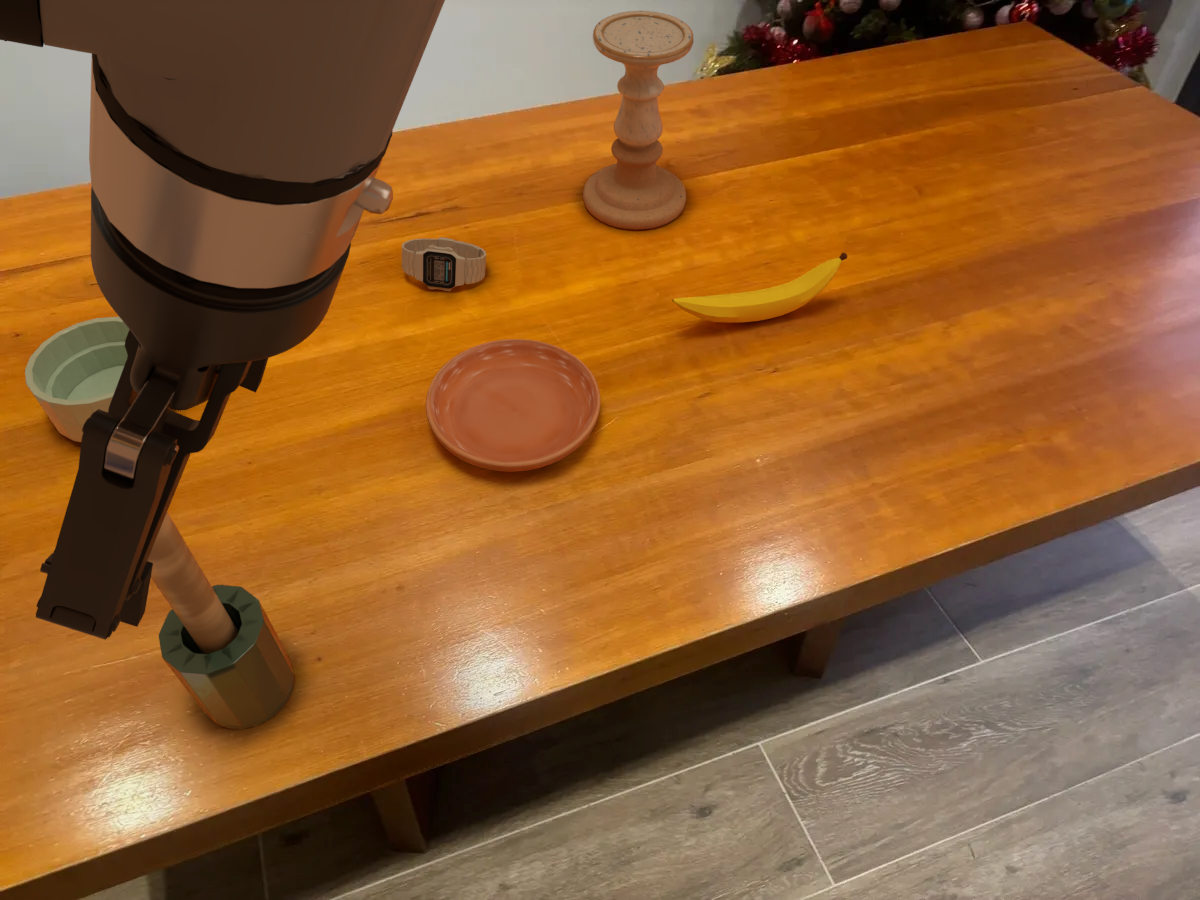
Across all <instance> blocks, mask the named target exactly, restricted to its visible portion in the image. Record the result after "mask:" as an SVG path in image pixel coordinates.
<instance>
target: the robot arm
mask: <svg viewBox="0 0 1200 900" xmlns="http://www.w3.org/2000/svg"><path fill="white" fill-rule="evenodd" d="M445 1H446V0H0V41H4V42H11V43H17V44H21V45H27V46H32V47H37V48H44V46H48V47H54V48H60V49H64V50H70V51H75V52H81V53H86V54H91V66H90V67H91V68H90V103H89V104H90V107H89V109H90V110H89V144H88V145H89V147H88V148H89V149H88V154H89V155H88V161H89V162H88V163H89V172H90V184H91V185H90V262H91V268H92V272H93V275H94V277H95V281H96V284H97V285H98V289H99V290H100V292H101V294H102V295H103V297H104V298H105V300H106V301H107V303H108V304H109V307H111V308H112V310H113V311H114V312H115V313H116V315H117V317H120V318H121V319H122V321H123V322H124V323H125V324H126V326H127V327H128V328H129V332H128V335H127V337H126V340H125V348H126V352H127V355H128V356H127V360H126V363H125V365H124V368H123V371H122V373H121V376H120V379H119V381H118V384H117V387H116V389H115V392H114V395H113V397H112V400H111V403H110V405H109V409H108V412H105V411H103V410H100V409H98V410H96V411H95V412H94V413H92V415H91V416H90V417H89V418H88V419H87V420H86V422H85V424H84V426H83V428H82V432H83V435H82V439H81V442H80V447H79V448H80V449H79V460H78V468H77V472H76V475H75V479H74V483H73V485H72V486H73V487H72V489H71V493H70V495H69V500H68V503H67V506H66V510H65V514H64V516H63V521H62V523H61V528H60V531H59V534H58V537H57V541H56V543H55V548H54V550H53V552H51V553H50V555H49V556H48V557H47V558H46V559H45V560H44V562H42V563H41V565H40V569H39V571H40V572H41V573H44V574H46V578H45V582H44V585H43V588H42V593H41V594H40V595H41V596H40V597H39V599H38V601H37V603H36V608H37V609H36V612H35V619H38V620H42V621H45V622H48V623H52V624H54V625H57V626H60V627H63V628H67V629H70V630H74V631H76V632H80V633H83V634H86V635H89V636H92V637H96V638H98V639H102V640H108V638H111V636H112V635H113V632H116V630H117V629H118V626H119V625H120V623H125V624H127V625H130V626H132V627H136V628H138V626H139V624H140V622H141V621H142V618H143V617H144V615H145V612H146V609H147V601H148V596H149V590H150V584H151V580H152V578H151V573H152V567H153V563H151V562H148V561H147V560H148V557H149V555H150V553H151V550H152V548H153V545H154V543H155V540H156V538H157V535H158V533H159V530H160V528H161V525H162V523H163V521H164V518H165V516H166V513H167V512H168V510H169V508H170V506H171V503H172V501H173V499H174V496H175V493H176V491H177V489H178V486H179V483H180V481H181V478H182V476H183V474H184V471H185V468H186V466H187V464H188V462H189V459H190V456H191V454H195V453H200V452H201V451H202V450H204V449H205V447H206V446H207V445H208V443H209V442H210V441H211V440H212V438H213V437H214V435H215V433H216V430H217V429H218V426H219V424H220V420H221V419H222V417H223V414H224V411H225V409H226V407H227V404H228V402H229V400H230V397H231V395H232V393H234V392H236V391H237V390H238V388H239V387H241V388H243V389H246V390H249V391H251V392H253V393H257V391H258V389H259V387H260V386H261V383H262V381H263V377H264V375H265V371H266V368H267V364H268V361H269V359H270V358H272V357H276V356H279V355H281V354H283V353H285V352H287V351H290V350H291V349H294V348H295V347H297V346H298V345H299V344H301V343H303V342H304V341H305V340H306V339H308V338H309V337H310V336H311V335H312V334H313V333H314V332H315V331H316V329H318V327H320V325H321V323H322V322H323V320H324V319H325V317H326V315H327V313H328V311H329V309H330V306H331V304H332V301H333V298H334V296H335V294H336V291H337V288H338V285H339V283H340V281H341V277H342V274H343V272H344V269H345V266H346V263H347V261H348V258H349V256H350V252H351V246H352V242H353V240H354V237H355V235H356V232H357V230H358V227H359V224H360V221H361V219H362V216H363V213H364V211H366V212H368V213H370V214H375V215H383V214H384V213H386V212H387V211H388V210H389V208H390V207H391V204H392V202H393V200H394V190H393V188H392V186H391V185H389V183H387V182H385V181H384V180H381V179H379V178H376V175H377V173H378V172H379V169H380V168H381V165H382V161H383V158H384V157H385V154H386V153H387V150H388V147H389V145H390V142H391V139H392V137H393V130H394V128H395V125H396V123H397V121H398V118H399V115H400V113H401V110H402V107H403V105H404V103H405V100H406V98H407V95H408V92H410V91H409V90H410V88H411V86H412V83H413V80H414V78H415V76H416V73H417V70H418V68H419V66H420V63H421V61H422V58H423V55H424V53H425V51H426V49H427V46H428V43H429V40H430V39H431V36H432V33H433V31H434V29H435V26H436V24H437V21H438V18H439V16H440V14H441V11H442V9H443V7H444V4H445ZM204 403H206V404H205V407H204V408H203V411H202V414H201V416H200V419H199V420H198V419H193V418H191V417H189V416H187V415H183V414H181V413H179V412H176V411H187V410H190V409H193V408H195V407H198V406H199V405H202V404H204ZM174 410H175V411H174Z"/></svg>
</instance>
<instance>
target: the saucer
mask: <svg viewBox="0 0 1200 900" xmlns="http://www.w3.org/2000/svg"><path fill="white" fill-rule="evenodd" d="M427 390H428V391H427V394H426V400H425V410H426V411H425V412H426V416H427V421H428V423H429V425H430V428H431V430H432V432H433V434H434V436H435V437H436V439H437V440H438V442H439V443H440V444H441V445H442V446H443V447H444V448H445V450H447V451H448V452H449V453H450V454H451V455H453V456H455V457H456V458H458V459H460V460H461V461H464V462H465V463H468V464H470V465H472V466H475V467H478V468H482V469H485V470H490V471H496V472H513V473H515V472H524V471H525V472H526V471H531V470H536V469H540V468H543V467H548V466H549V465H552V464H554V463H557V462H560V461H562V460H563V459H565V458H566V457H568V456H569V455H571V454H572V453H574V452H575V451H576V450H577V449H578V448H580V447H581V446H582V445H583V444H584V443H585V442H586V441H587V439H588V438H589V437H590V436H591V434H592V432H593V430H594V429H595V426H596V424H597V421H598V417H599V414H600V410H601V393H600V388H599V384H598V382H597V380H596V377H595V376H594V374H593V373H592V371H591V370H590V369H589V367H588V366H587V365H586V364H585V363H584V362H583V361H582V360H581V359H580V358H578V357H577V356H575V355H574V354H572V353H571V352H569V351H568V350H566V349H563V348H561V347H559V346H557V345H553V344H551V343H548V342H544V341H540V340H534V339H525V338H524V339H523V338H518V339H517V338H506V339H498V340H492V341H488V342H483V343H480V344H477V345H475V346H472V347H469V348H467V349H466V350H463V351H461V352H459V353H458V354H456V355H455V356H453V357H452V358H451V359H449V360H448V361H447V362H446V363H445V364H444V365H443V366H442V367H440V369H439V370H438V371H437V373H436V374H435V376H434V377H433V379H432V380H431V382H430V384H429V387H428V389H427Z"/></svg>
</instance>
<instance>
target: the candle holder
mask: <svg viewBox="0 0 1200 900" xmlns="http://www.w3.org/2000/svg"><path fill="white" fill-rule="evenodd" d="M592 32H593V33H592V42H593V45H594V47H595V49H596V50H597V51H598V52H599V53H600V54H601V55H602V56H604V57H606V58H608V59H609V60H612V61H614V62H617V63H621V64H622V65H624V69H625V70H624V75H623V76H621V77H620V78H619V80H618V81H617V84H616V88H617V91H618V93H620V95H621V96H622V97H621V101H620V105H619V109H618V111H617V115H616V117H615V120H614V122H613V132H614V134H615V137H616V138H615V139H614V141H613V142H612V144H611V153H612V156H613V158H615V159H616V163H614V164H610V165H607V166H604V167H602V168H600V169H599V170H597V171H595V172H594V173H592V174H591V175H590V177H589V178H588V179H587V181H586V182H585V184H584V186H583V192H582V196H583V197H582V198H583V204H584V205H585V208H586V209H587V211H588V212H589V213H590V215H592V216H593V217H594V218H596V219H597V220H598V221H600V222H602V223H604V224H606V225H609V226H611V227H614V228H618V229H624V230H634V231H635V230H636V231H638V230H641V231H642V230H649V229H655V228H659V227H662V226H665V225H667V224H669V223H671V222H672V221H674V220H675V219H677V218H678V217H679V216H680V215H681V214H682V212H683V210H684V208H685V206H686V202H687V192H686V187H685V186H684V184H683V182H682V181H681V179H680V178H679V177H678V176H676V175H675V174H674V173H673V172H671V171H670V170H668V169H666V168H664V167H662V166H658V165H657V164H656V163H657V161H659V159H661V157H662V155H663V145H662V144H661V141H659V139H660V137H661V136H662V134H663V130H664V125H663V121H662V117H661V113H660V108H659V98H658V97H660V95H662V94H663V92H664V89H665V88H664V87H665V85H664V83H663V81H662V79H661V78H660V77H659V75H658V69H659V67H660V66H662V65H666V64H667V65H668V64H670V63H673V62H676V61H678V60H681V59H683V58H684V57H686V56H687V55H688V54H689V53H690V51H691V49H692V48H693V45H694V32H693V29H692V28H691V27H690V26H689V24H687V23H686V22H685V21H683V20H681V19H680V18H678V17H676V16H673V15H670V14H668V13H664V12H658V11H651V10H629V11H623V12H618V13H614V14H612V15H609V16H607V17H605V18H603V19H601V20H600V21H598V22H597V24H596V25H595V26H594V29H593V31H592Z"/></svg>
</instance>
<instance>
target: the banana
mask: <svg viewBox="0 0 1200 900" xmlns="http://www.w3.org/2000/svg"><path fill="white" fill-rule="evenodd" d="M847 258H848V254H847V253H846V252H841V253H840V256H839V257H836V258H831V259H829V260H826V261H824V262H822V263H819V264H818V265H816V266H815V267H812V268H811V269H810V270H808V271H807V272H804V274H802V275H800V276H798V277H797V278H795V279H792V280H790V281H788V282H785V283H781V284H778V285H775V286H771V287H767V288H763V289H755V290H750V291H742V292H734V293H724V294H711V295H701V296H689V297H688V296H683V297H677V298H672V299H671V300H672V303H674V304H675V305H676V306H678V308H679V309H681V310H682V311H685V312H686V313H688V314H690V315H692V316H693V317H697V318H699V319H701V320H704V321H709V322H715V323H751V322H759V321H765V320H769V319H770V320H771V319H774V318H777V317H781V316H784V315H787V314H790V313H791V312H794V311H797V310H798V309H799V308H801V307H803V306H805V305H806V304H808V303H810V302H811V301H812V300H814V299H815V298H816V297H817V296H818V295H819V294H820V293H821V292H822V291H824V289H825V288H826V287H827V286H828V285H829V284H830V282H831V281H832V280H833V278H834V277H835V276H836V274H837V273H838V270H839V269H840V266H841V264H842V262H843V261H844V260H847Z"/></svg>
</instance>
